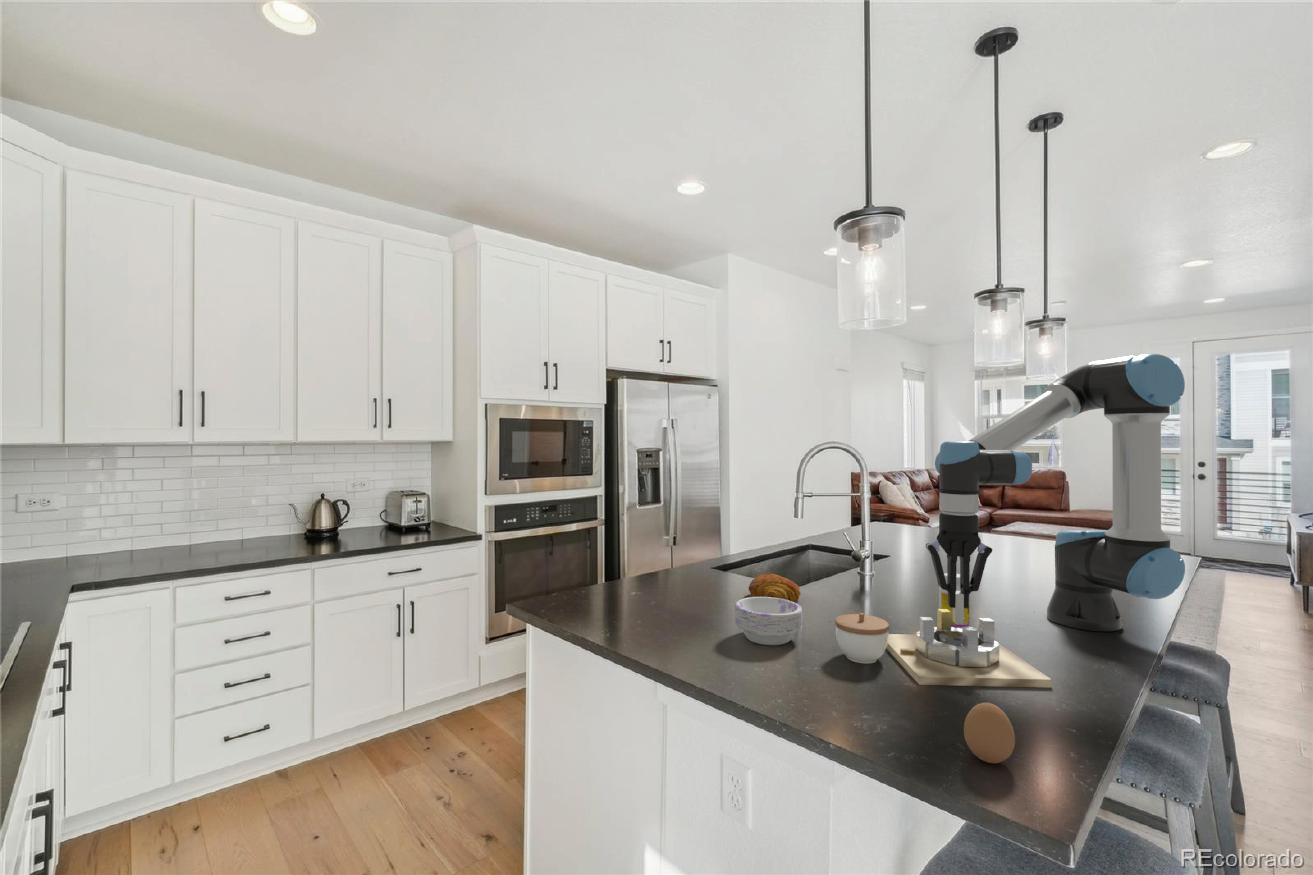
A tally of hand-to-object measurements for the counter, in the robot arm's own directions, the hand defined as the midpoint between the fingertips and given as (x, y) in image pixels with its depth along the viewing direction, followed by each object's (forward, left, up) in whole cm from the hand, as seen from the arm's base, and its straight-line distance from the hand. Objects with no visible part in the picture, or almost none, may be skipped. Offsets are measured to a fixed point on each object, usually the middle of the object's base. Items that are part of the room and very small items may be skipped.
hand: (958, 622), depth 128 cm
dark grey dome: (+2, +5, -5) cm, 7 cm away
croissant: (+33, -40, -7) cm, 53 cm away
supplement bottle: (-7, -17, -7) cm, 19 cm away
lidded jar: (+21, +4, -7) cm, 23 cm away
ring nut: (+2, +5, -5) cm, 7 cm away
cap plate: (+2, +5, -7) cm, 9 cm away
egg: (+14, +43, -7) cm, 46 cm away
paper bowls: (+39, -7, -7) cm, 41 cm away
